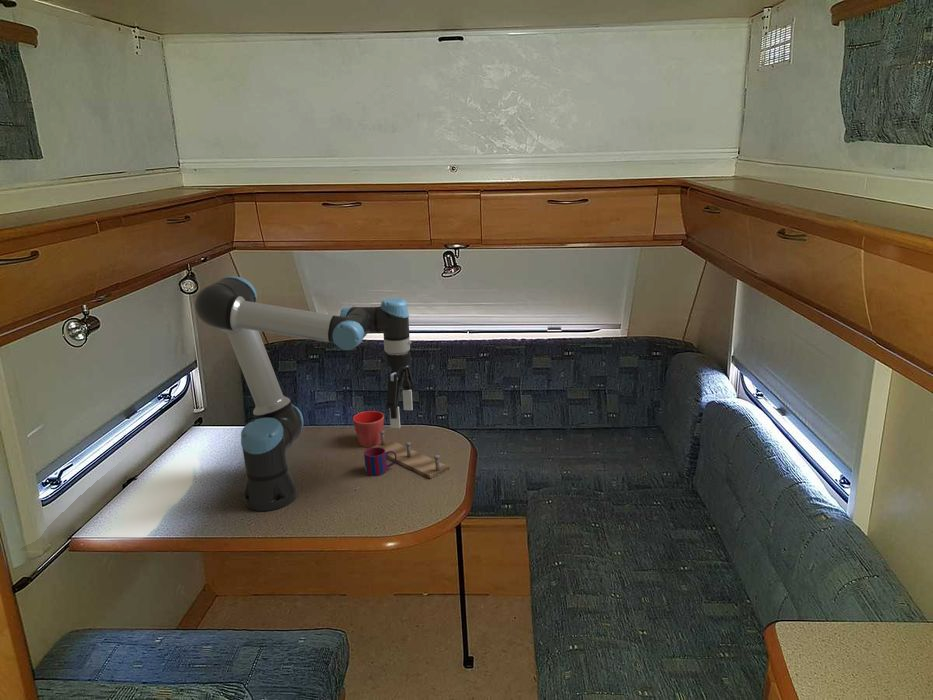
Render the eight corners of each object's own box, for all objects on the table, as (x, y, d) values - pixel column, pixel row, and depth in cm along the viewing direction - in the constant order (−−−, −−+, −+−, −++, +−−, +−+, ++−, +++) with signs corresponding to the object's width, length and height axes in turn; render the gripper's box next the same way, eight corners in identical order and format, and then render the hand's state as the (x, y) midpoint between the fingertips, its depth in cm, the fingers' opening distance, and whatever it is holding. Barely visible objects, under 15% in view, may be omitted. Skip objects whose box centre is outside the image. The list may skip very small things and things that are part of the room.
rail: (372, 450, 229) (370, 434, 227) (390, 443, 234) (389, 427, 232) (430, 479, 208) (429, 461, 206) (449, 470, 213) (448, 452, 211)
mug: (366, 467, 218) (364, 447, 216) (397, 464, 218) (396, 445, 216) (365, 476, 211) (363, 457, 209) (397, 474, 212) (395, 454, 210)
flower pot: (392, 438, 238) (389, 412, 235) (375, 451, 229) (373, 424, 226) (366, 434, 242) (363, 408, 239) (349, 446, 233) (346, 420, 230)
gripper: (397, 365, 186) (402, 436, 192) (420, 339, 209) (424, 403, 216) (371, 364, 187) (377, 435, 194) (397, 338, 211) (401, 402, 217)
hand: (402, 418), depth 205 cm, fingers open, 13 cm apart
